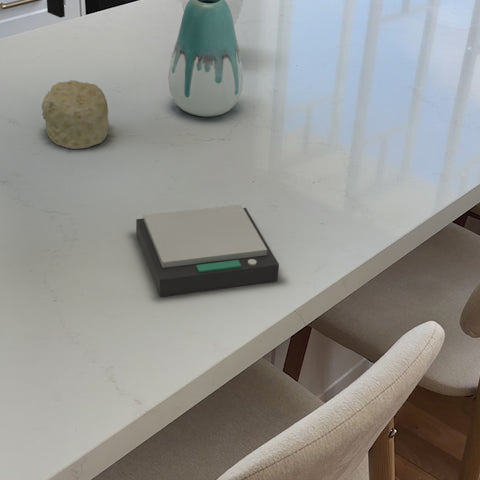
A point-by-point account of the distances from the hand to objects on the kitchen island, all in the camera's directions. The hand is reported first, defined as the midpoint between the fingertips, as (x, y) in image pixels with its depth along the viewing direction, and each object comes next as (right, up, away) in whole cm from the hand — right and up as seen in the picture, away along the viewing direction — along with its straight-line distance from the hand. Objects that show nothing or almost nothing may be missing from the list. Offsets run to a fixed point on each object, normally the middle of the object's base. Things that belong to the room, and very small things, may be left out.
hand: (94, 5), depth 126 cm
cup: (+14, 0, +32) cm, 35 cm away
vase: (+14, -12, +16) cm, 24 cm away
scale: (+17, -36, -19) cm, 44 cm away
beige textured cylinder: (-3, -18, +5) cm, 19 cm away
